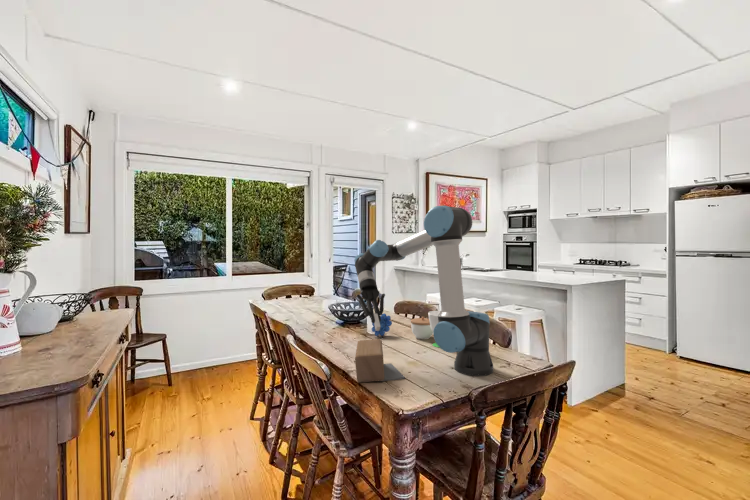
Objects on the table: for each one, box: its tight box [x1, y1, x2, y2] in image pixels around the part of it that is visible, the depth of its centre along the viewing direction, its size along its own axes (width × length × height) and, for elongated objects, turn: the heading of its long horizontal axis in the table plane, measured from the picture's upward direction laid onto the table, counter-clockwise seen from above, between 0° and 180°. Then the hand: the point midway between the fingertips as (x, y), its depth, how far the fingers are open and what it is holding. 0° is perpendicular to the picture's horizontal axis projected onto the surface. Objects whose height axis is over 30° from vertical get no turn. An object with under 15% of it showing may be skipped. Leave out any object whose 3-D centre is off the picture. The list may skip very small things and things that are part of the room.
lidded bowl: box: [410, 316, 433, 340], centre depth 196 cm, size 13×13×11 cm
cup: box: [427, 310, 441, 349], centre depth 181 cm, size 14×14×16 cm
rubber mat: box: [381, 363, 406, 382], centre depth 144 cm, size 16×10×1 cm, turn 16°
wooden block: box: [354, 338, 385, 383], centre depth 143 cm, size 10×10×20 cm
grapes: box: [371, 312, 393, 337], centre depth 200 cm, size 12×7×12 cm, turn 111°
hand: (378, 328), depth 150 cm, fingers closed
